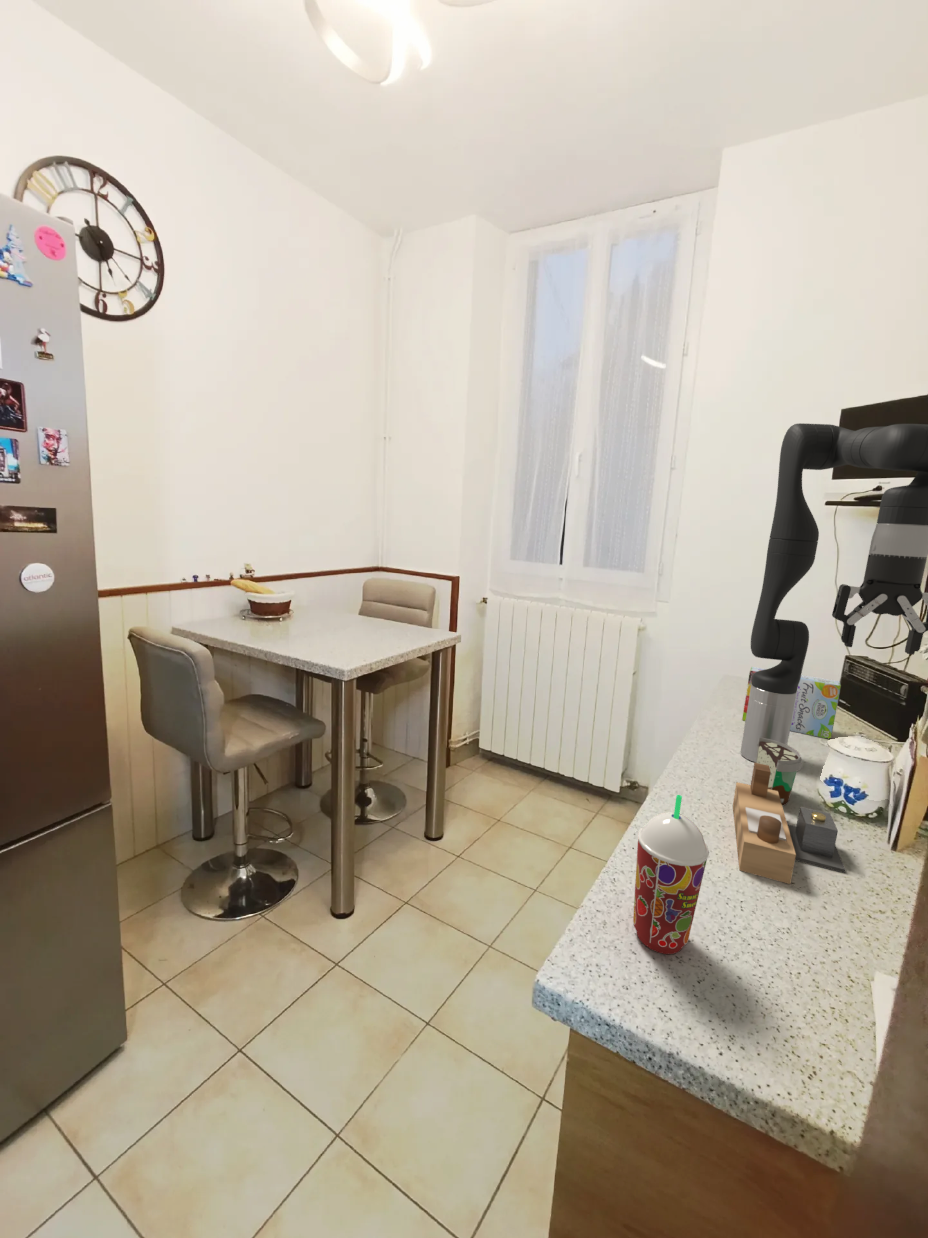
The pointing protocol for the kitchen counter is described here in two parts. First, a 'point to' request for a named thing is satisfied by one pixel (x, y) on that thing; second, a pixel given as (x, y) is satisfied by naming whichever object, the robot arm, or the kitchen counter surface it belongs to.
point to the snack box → (809, 705)
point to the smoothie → (668, 880)
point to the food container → (779, 765)
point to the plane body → (762, 829)
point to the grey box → (816, 832)
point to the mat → (814, 859)
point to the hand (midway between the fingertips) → (877, 649)
